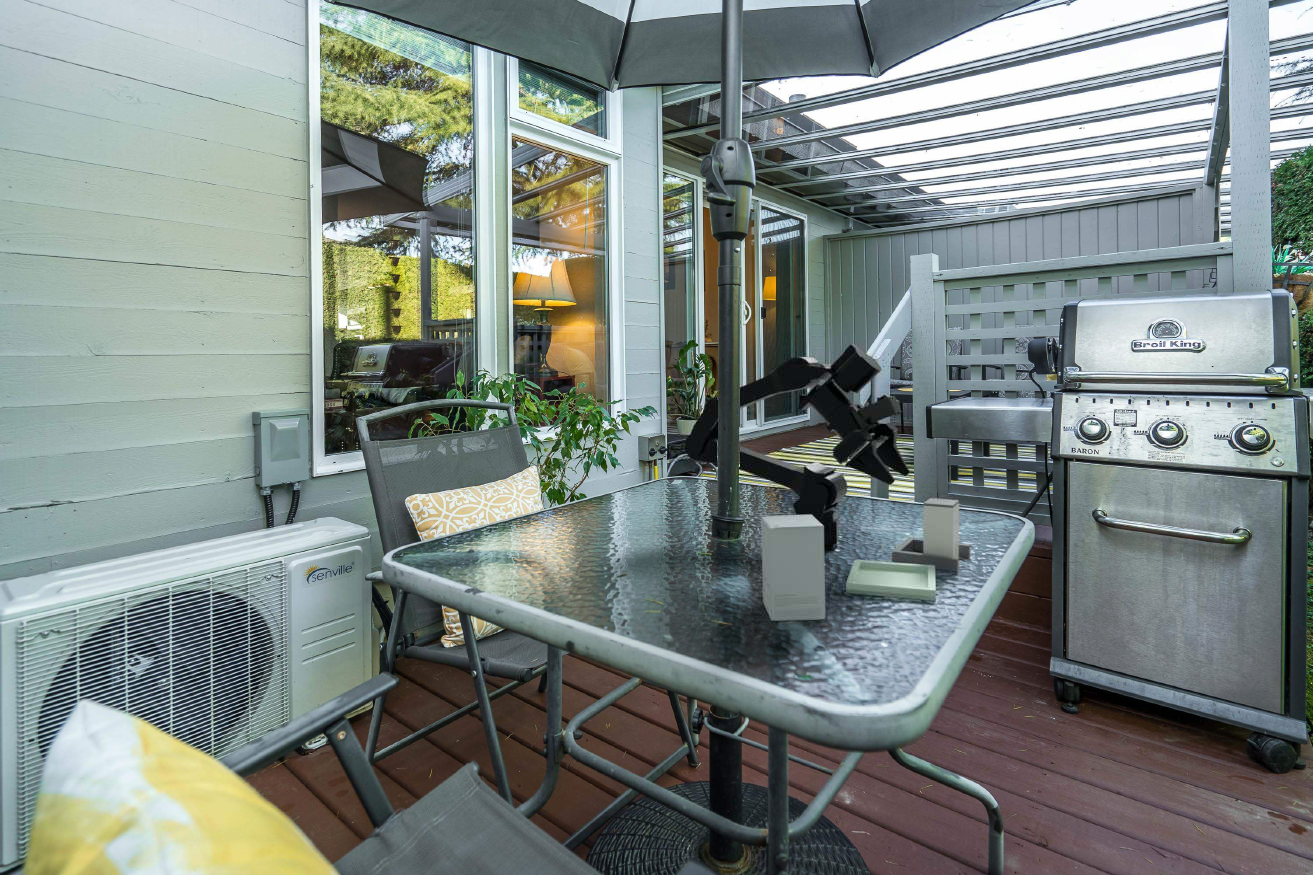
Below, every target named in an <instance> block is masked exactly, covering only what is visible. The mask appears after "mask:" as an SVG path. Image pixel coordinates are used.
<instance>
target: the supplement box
mask: <svg viewBox="0 0 1313 875" xmlns="http://www.w3.org/2000/svg"><path fill="white" fill-rule="evenodd" d="M760 522H761V526H760V528H761V533H760V534H761V561H762V562H761V563H762V564H761V565H762V566H761V567H762V568H761V569H762V602H763V606H764V607H765V610H766V611H767V614H768V615H769V616H768V617H769V619H770V620H771V622H772V621H776V622H777V621H780V622H781V621H784V622H785V621H811V620H814V621H816V620H817V621H818V620H825V618H826V579H825V578H826V575H825V574H826V572H825V569H826V567H825V549H824V526H823V525H822V524H821V523H820V522H819V521H818V520H817V519H816V518H815V517H814V516H813V515H796V514H794V515H793V514H789V515H787V514H786V515H769V516H768V515H767V516H761V520H760Z"/></svg>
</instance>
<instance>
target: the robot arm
mask: <svg viewBox="0 0 1313 875" xmlns="http://www.w3.org/2000/svg"><path fill="white" fill-rule="evenodd" d="M882 369H883V368H882V367H881V365H880V364H879V363H878V361H877V360H876V359H875V358H874V357H873V356H872V355H869V354H868V353H866V352H865V351H863V350H862V349H861V348H859V347H858V346H857V345H856V344H849V345H848V346H847V347H846V349H844V352H842V354H841V355H840V356H839V357H838V358H837V359H836V360H835V361H834V362H832V364H823V363H820V361H818V360H817V359H816V358H814V357H811V356H795V357H791V358H789V359H787V360H786V361H784V362H783V363H782V364H780V365H778V366H777V367H775V368H774V369H773V370H772V371H771V372H770V373H768V374H767V375H765V376H764V377H762V378H761V377H760V378H758V379H756V380H755V381H751V382H750V383H747V384H745V385H742V386H739V388H740V409H739V410H741V409H743V408H747V407H748V406H751V405H754V404H755V403H759V402H761V401H763V400H766V399H768V398H771V397H773V396H776V395H779V394H783V393H789V392H795V391H799V390H804V389H810V388H812V389H810V391H809V392H808V393H807V394H799V395H798V399H799V400H798V405H797V406H798V407H797V409H798V410H799V411H804V410H808V409H810V407H812V408H813V409H814V411H816V413H817V414H818V415H819V416H820V417H821V418H822V419H823V421H825V422H826V424H827V426H826V427H825V429H827V430H828V431H829V433H830V432H834V433H835V434H836V435H837V436H838V437H839V438H840V439H841V441H840V442H839V443H837V444H836V445H835V446H834V447H833V448H832V457H833V458H834V459H835V460H836V462H837V463H839V465H843V464H844V466H846V467H849V468H851V469H854V470H856V471H858V472H861V473H863V474H866V475H868V476H870V477H872V478H874V479H877V480H878V481H881V482H882V483H885V484H887V485H888V486H890V485H892V484H894V483H895V481H896V479H895V478H894V476H893V475H892V473H891V471H890V470H889V468H890V469H891V470H893V471H895V472H897V473H899V474H900V475H902V476H904V477H907V476H908V475H909V474H910V473H911V471H910V469H909V467H908V465H907V463H906V462H905V460H904V458H903V456H902V454H901V453H900V450H899V448H898V446H897V439H898V436H899V432H897V431H898V430H899V429H898V427H896V425H895V424H894V423H892V422H891V421H883V420H884V419H886V418H890V417H892V416H897V415H899V414H902V410H901V407H900V406H899V405H900V400H898V399H897V398H896V396H895V395H889V394H888V393H884V394H883V395H881V396H878V397H876V401H875V402H873V403H871V404H867V405H866V406H864V405H863V404H861V403H854V402H853V401H852V400H851V398H850V397H848V396H847V394H850V393H851V392H853V393H854V394H859V393H860V391H862V390H863V389H864V388H865V387H866V386H867V385H869V383H870V382H871V381H872V380H873V379H874V378H875V377H876V376H877V375H878V374H880V373H881V371H883V370H882ZM826 379H827V380H826ZM821 380H826V381H825V382H823V384H819V383H820V382H821ZM844 392H845V393H847V394H845V393H844ZM717 397H718V396H714V397H711V398H708V400H707V402H706V403H705V405H704V407H703V411H702V413H701V414H700V415H699V417H698V418H697V420H696V422H695V423H694V424H693V426H692V429H691V432H690V433H689V434H688V435H687V437H686V438H685V442H684V450H685V452H686V455H687V457H688V459H691V460H692V461H694V462H700V463H706V464H717V440H718V400H717ZM880 421H881V422H880ZM739 446H740V467H739V469H738V470H740V471H741V472H745V473H747V474H751V475H753V476H756V477H758V478H761V479H764V480H767V481H769V482H772V483H775V484H778V485H780V486H783V487H785V488H788V489H790V490H791V491H792V492H793V493H794V494H796V496H797V497H798V499H797V500H796V501H795V502H794V503H792V507H793V509H794V512H795V515H813V516H814V517H815V518H816V519H817V520H818V521H819V522H820V523H821V524H822V525H823V526H824V550H834V548H835V547H836V545H837V544H838V542H839V537H840V536H839V535H840V532H839V526H840V524H839V519H838V518H836V509H837V507H838V504H839V502H840V501H842V500H843V499H844V498H845V497H846V495H847V493H848V482H847V481H846V478H845V476H843V474H841V473H840V472H838V471H836V470H837V467H828V466H826V465H824V464H822V463H820V462H818V461H814V462H812V463H810V464H806V465H804V466H803V467H801V466H797V465H795V464H792V463H789V462H786V461H783V460H780V459H778V458H775V457H772V456H769V455H766V454H763V453H760V452H758V451H755V450H752V449H749V448H746V447H744V446H741V445H739ZM888 467H889V468H888Z"/></svg>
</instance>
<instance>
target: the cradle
mask: <svg viewBox="0 0 1313 875" xmlns="http://www.w3.org/2000/svg"><path fill="white" fill-rule="evenodd" d="M914 551H915V552H914ZM921 552H922V553H921ZM891 556H892V557H891V558H892V560H891V562H893V563H908V564H922V565H935V570H941V571H947V572H955V573H958V572H959V571H958V570H959V568H960V566H959V564H960V563H959V562H960V557H964V558H970V557H971V543H970V544H969V543H962V542H961V543H960V542H959V558H955V557H947V556H939V555H931V554H923V538H917V537H916V538H915V537H908V538H907V539H905V540H904V541H903V542H901V543H900V544H899V545H898V546H897V547H895V549H893V550H892V551H891Z"/></svg>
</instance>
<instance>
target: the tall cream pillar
mask: <svg viewBox="0 0 1313 875" xmlns="http://www.w3.org/2000/svg"><path fill="white" fill-rule="evenodd" d="M922 504H923V505H922V506H923V507H922V508H923V514H922V516H923V518H922V519H923V523H922V524H923V532H922V533H923V535H922V536H923V538H922V539H923V552H922V553H923V554H931V555H939V556H947V557H955V558H959V559H960V556H959V543H960V537H959V536H960V530H959V529H960V500H958V499H945V498H936V497H935V498H932V497H930V498H929V499H927V500H926V501H924V502H923V503H922Z"/></svg>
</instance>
